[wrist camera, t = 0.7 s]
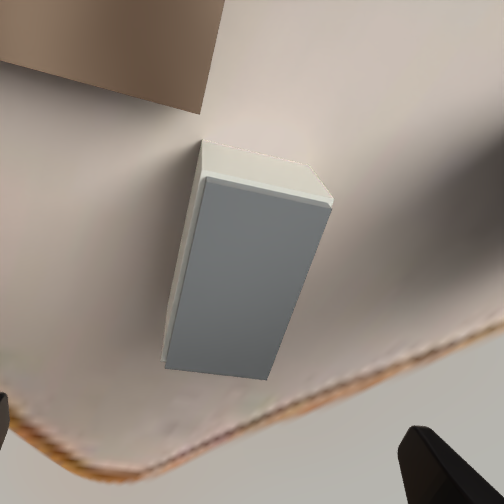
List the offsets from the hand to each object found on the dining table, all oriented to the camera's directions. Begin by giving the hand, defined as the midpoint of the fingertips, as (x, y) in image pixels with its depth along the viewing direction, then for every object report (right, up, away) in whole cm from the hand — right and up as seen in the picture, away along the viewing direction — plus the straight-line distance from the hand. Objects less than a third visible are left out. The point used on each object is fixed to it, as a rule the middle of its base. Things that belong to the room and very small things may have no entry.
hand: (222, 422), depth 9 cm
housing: (0, +5, +11) cm, 12 cm away
